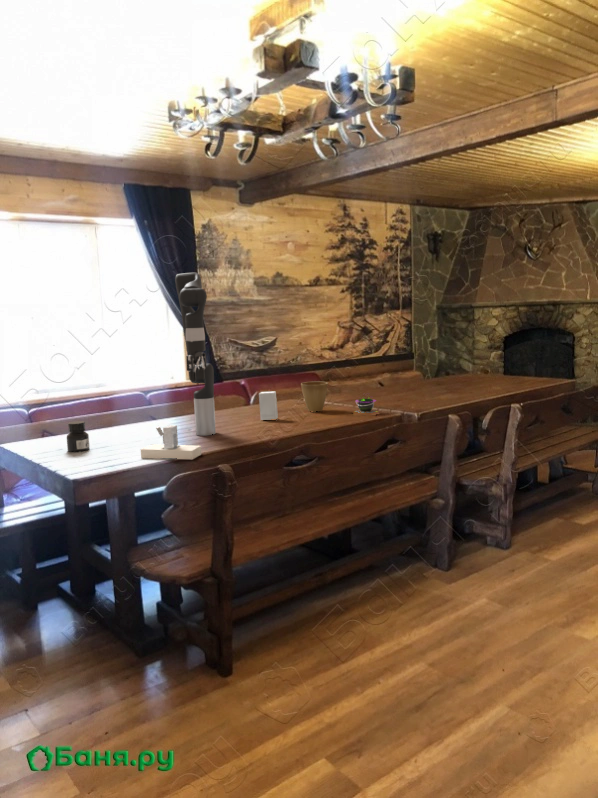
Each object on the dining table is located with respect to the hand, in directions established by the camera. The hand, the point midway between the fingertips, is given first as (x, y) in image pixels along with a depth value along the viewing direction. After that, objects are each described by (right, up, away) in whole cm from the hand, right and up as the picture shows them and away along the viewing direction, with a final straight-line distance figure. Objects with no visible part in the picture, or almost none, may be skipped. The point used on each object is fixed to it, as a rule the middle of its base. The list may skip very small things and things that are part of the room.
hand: (197, 380), depth 252 cm
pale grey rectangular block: (-10, -30, +1) cm, 32 cm away
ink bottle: (-54, -30, +17) cm, 64 cm away
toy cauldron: (+77, -16, +88) cm, 118 cm away
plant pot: (+50, -15, +100) cm, 113 cm away
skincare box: (+25, -19, +77) cm, 83 cm away
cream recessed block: (-11, -30, +1) cm, 32 cm away
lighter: (-18, -27, +26) cm, 42 cm away
